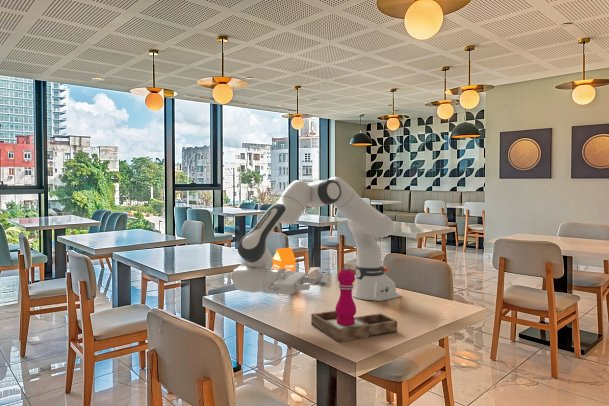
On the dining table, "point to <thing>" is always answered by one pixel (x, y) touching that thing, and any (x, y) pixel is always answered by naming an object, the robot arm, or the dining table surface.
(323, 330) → the box
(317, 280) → the die
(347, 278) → the pepper mill
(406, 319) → the dining table surface
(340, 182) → the robot arm
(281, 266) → the orange juice
